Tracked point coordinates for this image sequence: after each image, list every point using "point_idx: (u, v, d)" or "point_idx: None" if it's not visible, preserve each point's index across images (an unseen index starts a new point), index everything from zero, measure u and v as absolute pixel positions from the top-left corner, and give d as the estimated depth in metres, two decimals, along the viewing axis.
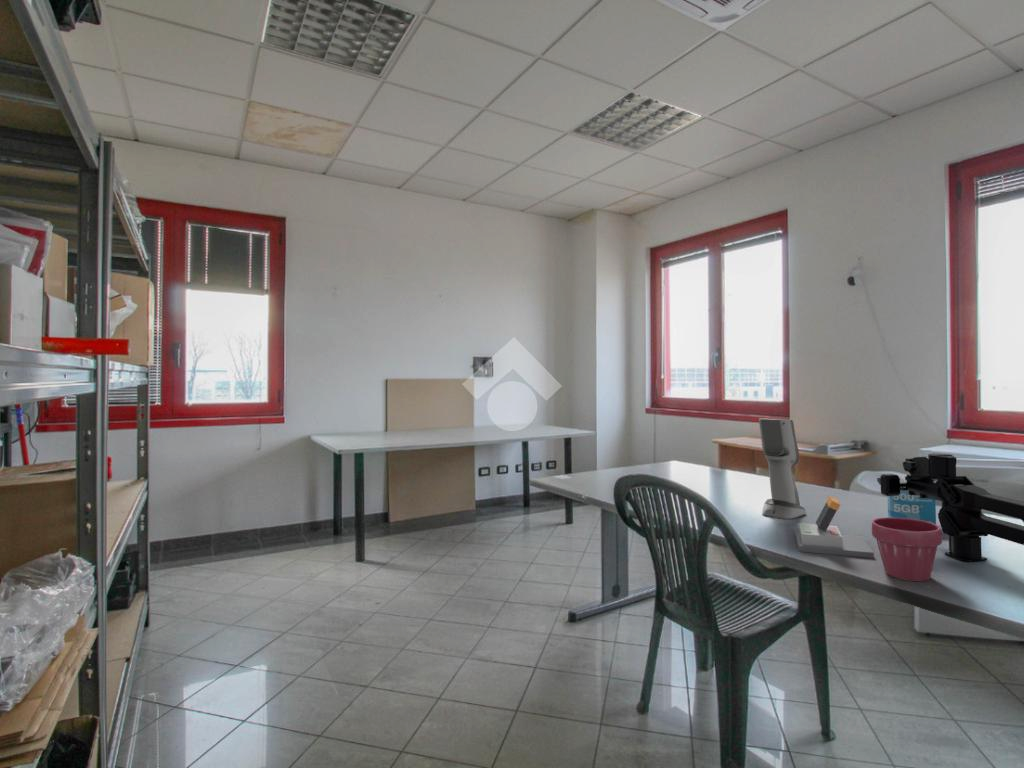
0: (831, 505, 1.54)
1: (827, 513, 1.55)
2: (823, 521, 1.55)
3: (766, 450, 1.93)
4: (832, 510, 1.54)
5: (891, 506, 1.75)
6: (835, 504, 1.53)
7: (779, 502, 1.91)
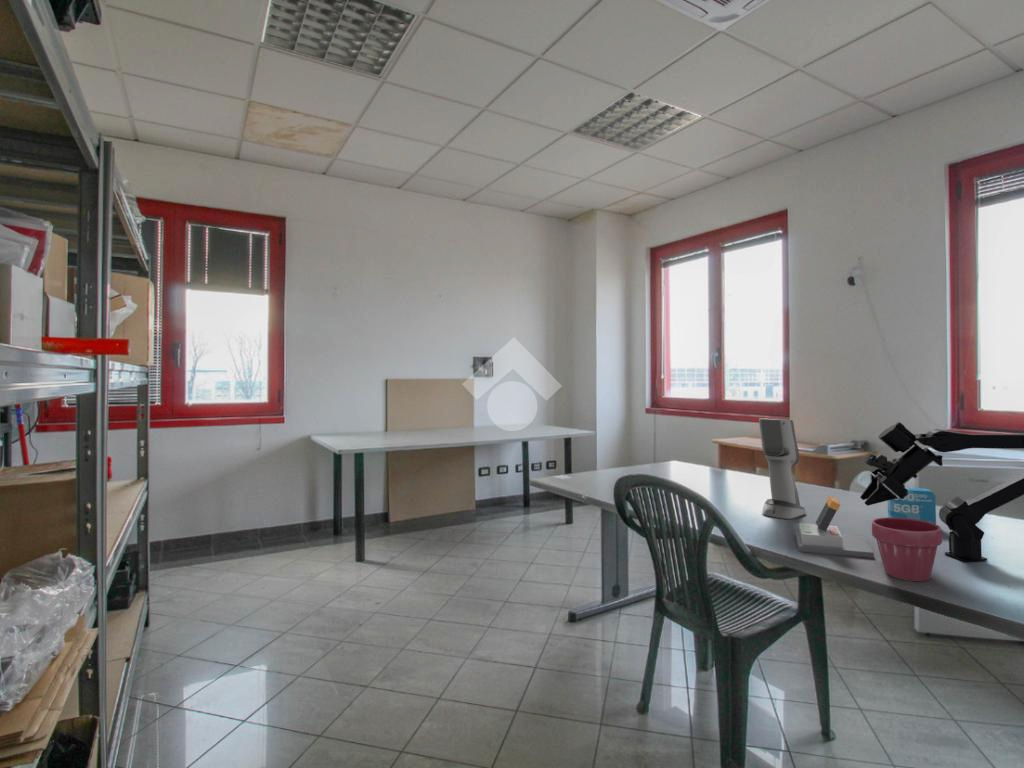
0: (831, 505, 1.54)
1: (827, 513, 1.55)
2: (823, 521, 1.55)
3: (766, 450, 1.93)
4: (832, 510, 1.54)
5: (891, 506, 1.75)
6: (835, 504, 1.53)
7: (779, 502, 1.91)
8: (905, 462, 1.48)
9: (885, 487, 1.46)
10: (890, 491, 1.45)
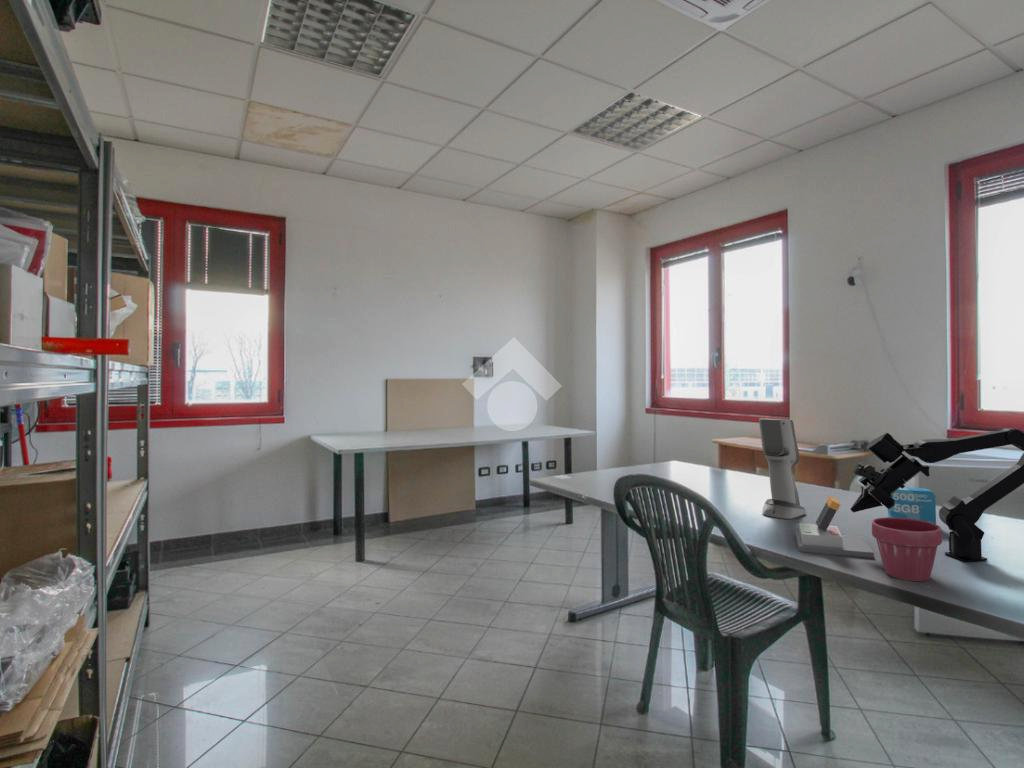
0: (831, 505, 1.54)
1: (827, 513, 1.55)
2: (823, 521, 1.55)
3: (766, 450, 1.93)
4: (832, 510, 1.54)
5: None
6: (835, 504, 1.53)
7: (779, 502, 1.91)
8: (893, 472, 1.49)
9: (870, 495, 1.50)
10: (875, 498, 1.50)
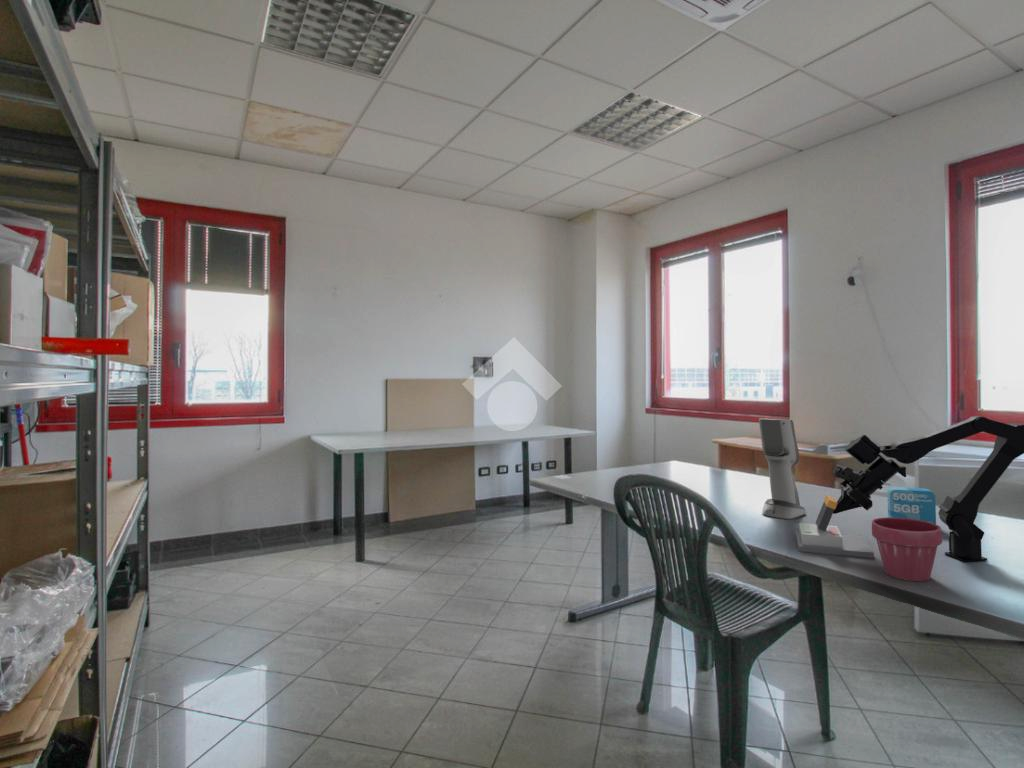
0: (828, 504, 1.54)
1: (825, 512, 1.55)
2: (822, 521, 1.55)
3: (766, 450, 1.93)
4: (829, 509, 1.54)
5: (891, 506, 1.75)
6: (832, 503, 1.54)
7: (779, 502, 1.91)
8: (870, 474, 1.51)
9: (849, 496, 1.52)
10: (854, 500, 1.52)
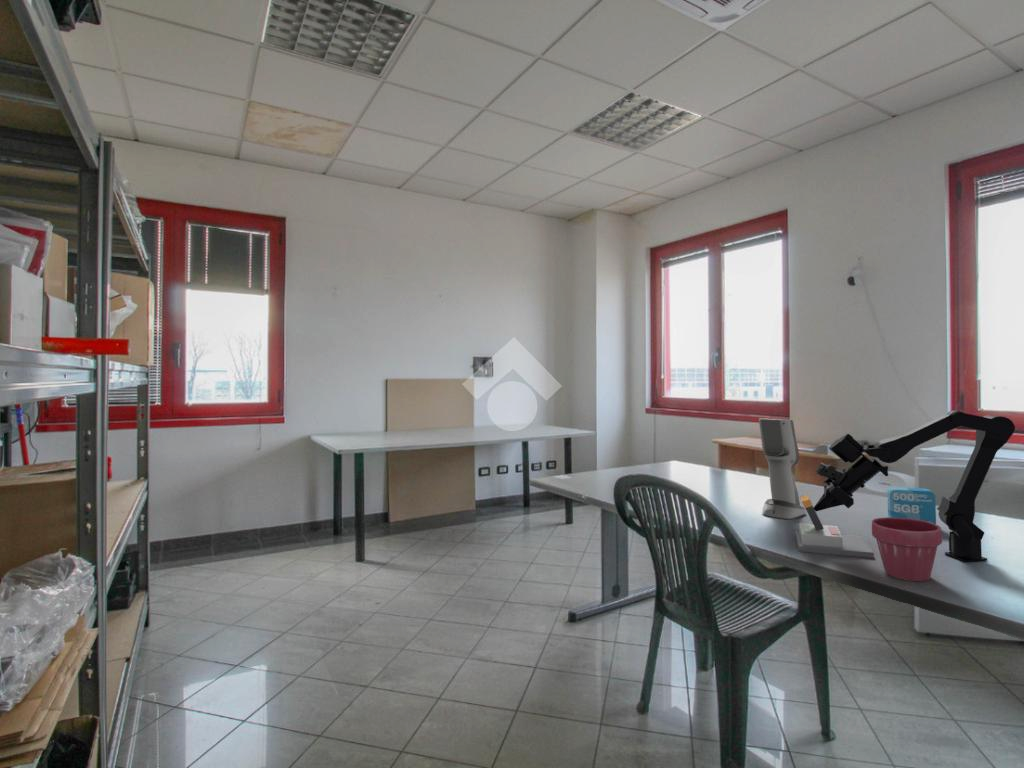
0: (805, 505, 1.57)
1: (809, 513, 1.56)
2: (813, 522, 1.56)
3: (766, 450, 1.93)
4: (809, 508, 1.56)
5: (891, 506, 1.75)
6: (806, 502, 1.57)
7: (779, 502, 1.91)
8: (853, 472, 1.53)
9: (832, 494, 1.54)
10: (836, 498, 1.53)
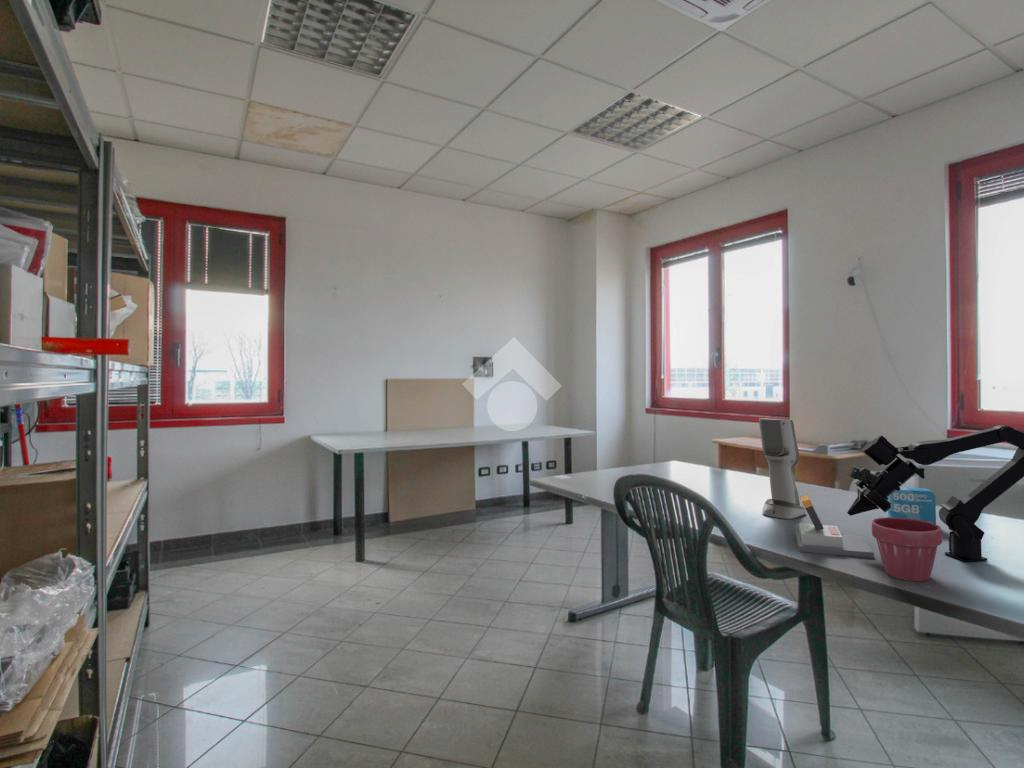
0: (805, 505, 1.57)
1: (809, 513, 1.56)
2: (813, 522, 1.56)
3: (766, 450, 1.93)
4: (809, 508, 1.56)
5: (891, 506, 1.75)
6: (806, 502, 1.57)
7: (779, 502, 1.91)
8: (888, 475, 1.49)
9: (866, 498, 1.50)
10: (871, 501, 1.50)
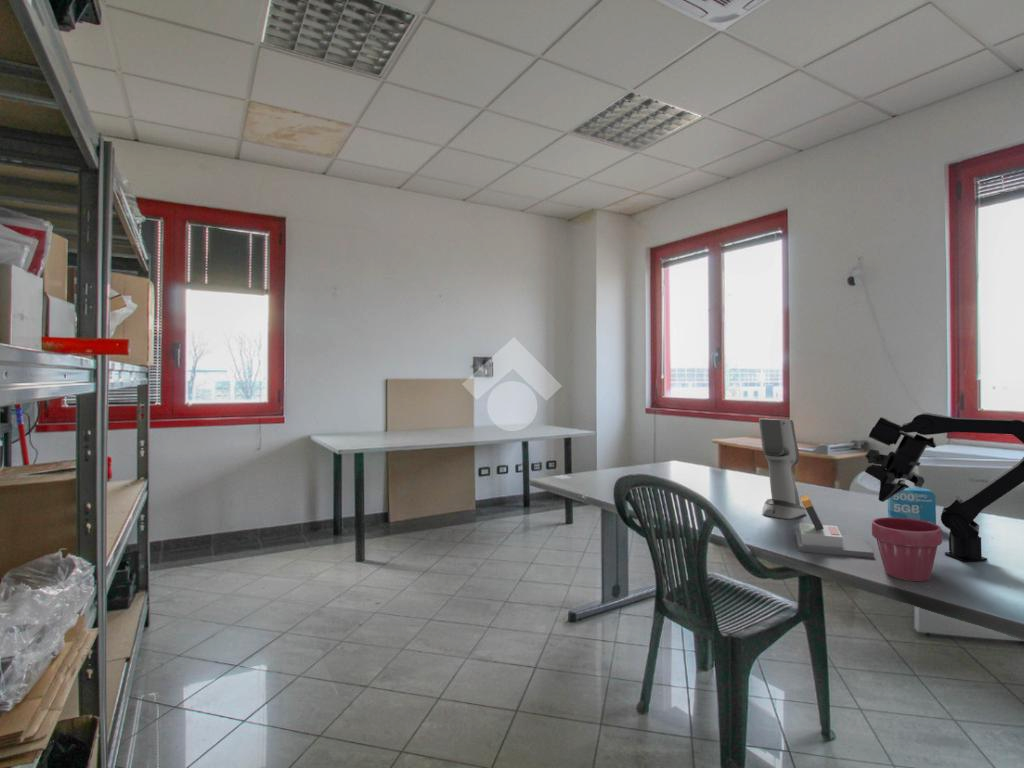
0: (805, 505, 1.57)
1: (809, 513, 1.56)
2: (813, 522, 1.56)
3: (766, 450, 1.93)
4: (809, 508, 1.56)
5: (891, 506, 1.75)
6: (806, 502, 1.57)
7: (779, 502, 1.91)
8: (896, 451, 1.53)
9: None
10: None
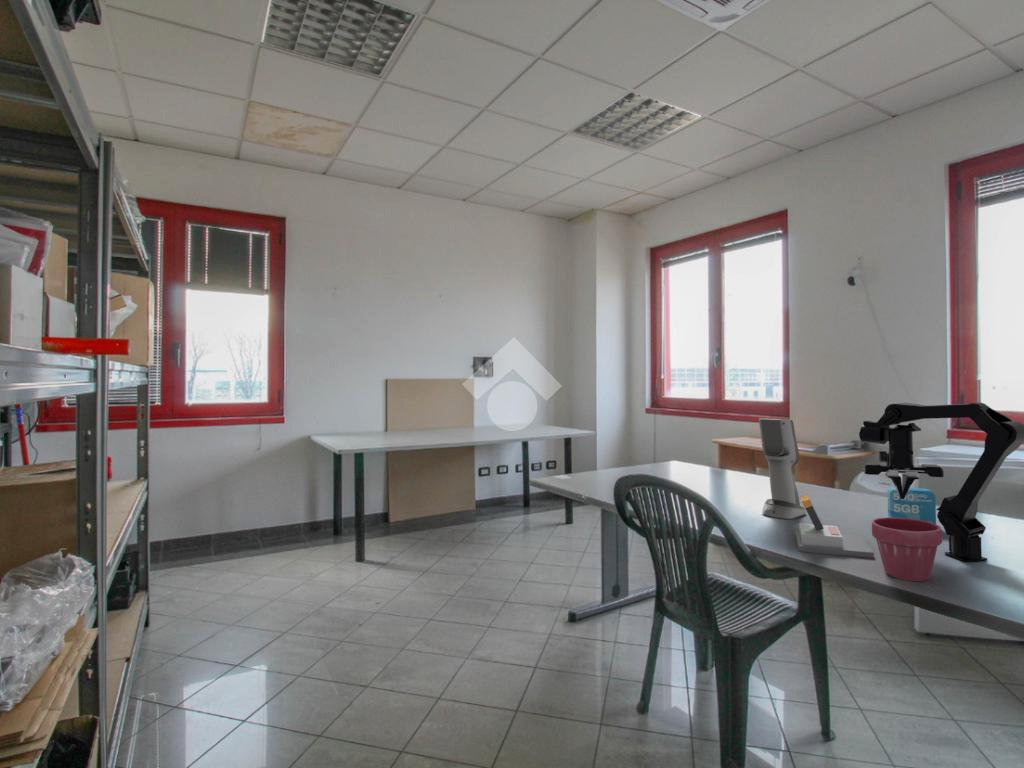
0: (805, 505, 1.57)
1: (809, 513, 1.56)
2: (813, 522, 1.56)
3: (766, 450, 1.93)
4: (809, 508, 1.56)
5: (891, 506, 1.75)
6: (806, 502, 1.57)
7: (779, 502, 1.91)
8: None
9: (886, 474, 1.60)
10: (887, 475, 1.59)
